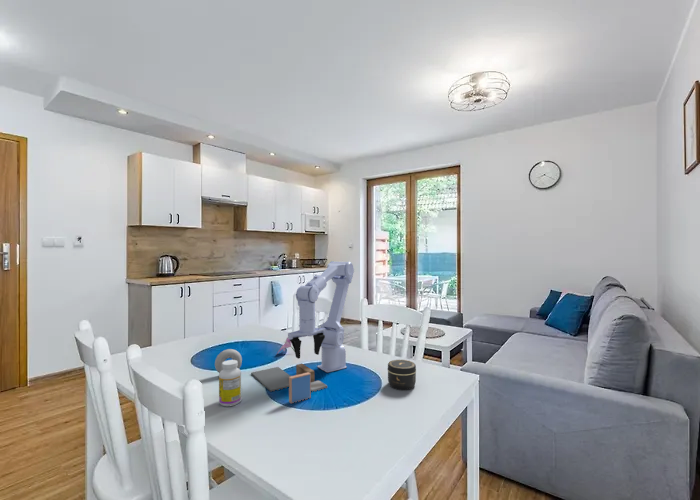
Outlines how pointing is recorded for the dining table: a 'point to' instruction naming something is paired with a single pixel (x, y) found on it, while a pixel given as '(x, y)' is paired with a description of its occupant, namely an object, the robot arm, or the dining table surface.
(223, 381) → the supplement bottle
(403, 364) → the jar
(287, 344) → the lily
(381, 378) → the dining table surface
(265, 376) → the mat
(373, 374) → the dining table surface
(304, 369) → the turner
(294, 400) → the tile
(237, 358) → the donut
